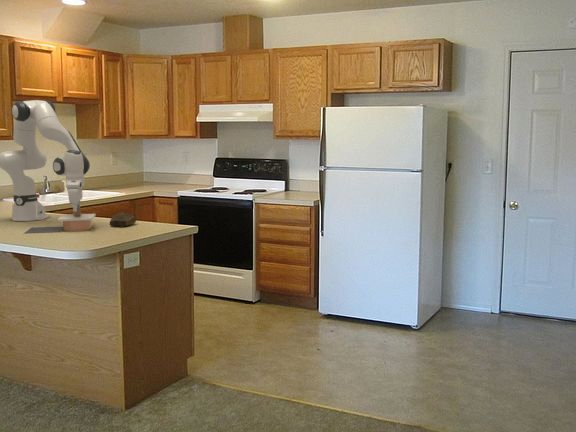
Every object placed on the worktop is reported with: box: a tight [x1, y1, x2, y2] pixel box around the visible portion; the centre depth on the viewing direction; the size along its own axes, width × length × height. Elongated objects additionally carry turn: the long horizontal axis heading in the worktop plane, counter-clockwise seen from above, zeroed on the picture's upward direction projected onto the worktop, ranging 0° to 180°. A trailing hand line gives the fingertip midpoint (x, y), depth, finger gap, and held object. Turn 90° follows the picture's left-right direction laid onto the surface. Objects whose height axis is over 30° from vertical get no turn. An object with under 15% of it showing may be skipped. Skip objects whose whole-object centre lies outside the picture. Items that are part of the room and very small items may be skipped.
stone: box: [108, 212, 137, 228], centre depth 340 cm, size 10×14×6 cm
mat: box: [22, 225, 64, 235], centre depth 324 cm, size 19×17×1 cm
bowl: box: [62, 219, 93, 232], centre depth 326 cm, size 13×13×6 cm
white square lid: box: [57, 207, 97, 222], centre depth 325 cm, size 16×16×5 cm
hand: (76, 210), depth 325 cm, fingers open, 8 cm apart
